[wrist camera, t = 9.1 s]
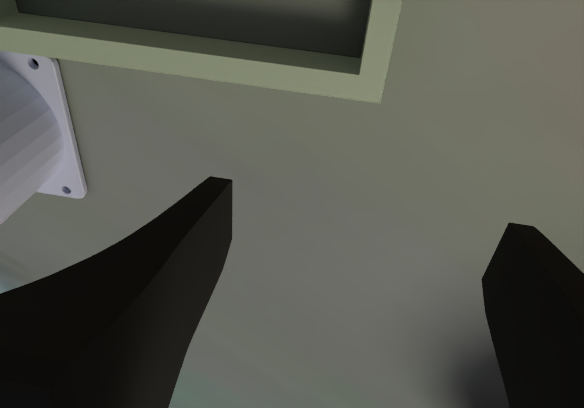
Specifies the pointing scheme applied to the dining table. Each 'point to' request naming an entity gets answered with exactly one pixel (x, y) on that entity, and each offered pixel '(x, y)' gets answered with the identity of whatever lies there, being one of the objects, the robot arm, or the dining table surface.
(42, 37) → the pale green square frame
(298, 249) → the dining table surface
